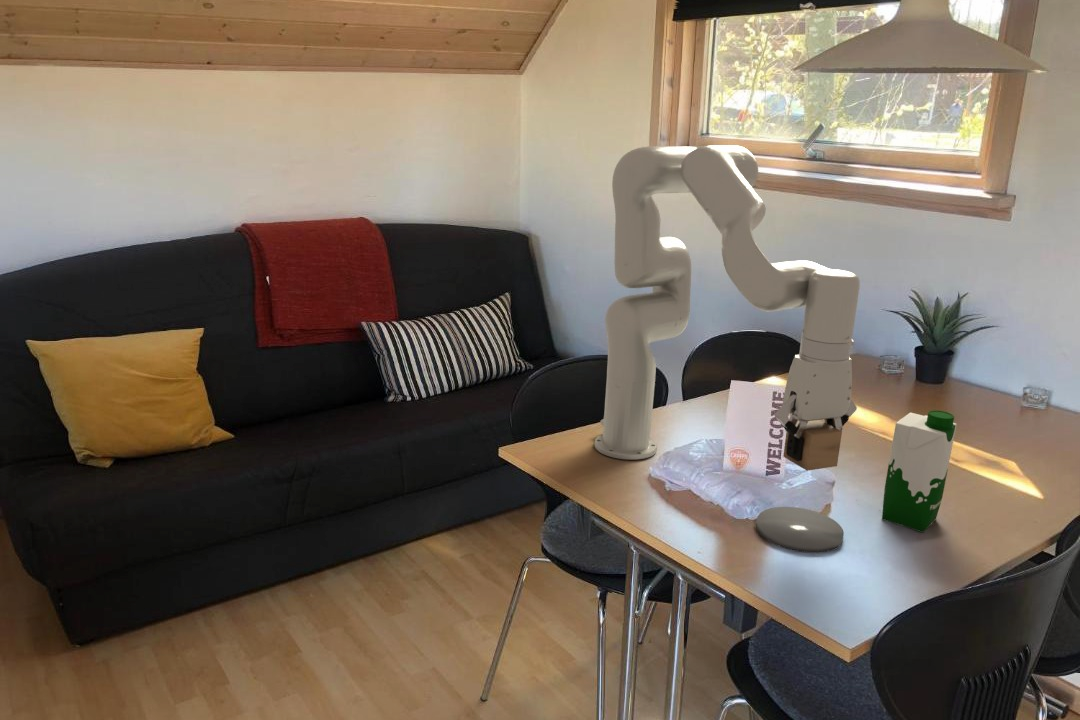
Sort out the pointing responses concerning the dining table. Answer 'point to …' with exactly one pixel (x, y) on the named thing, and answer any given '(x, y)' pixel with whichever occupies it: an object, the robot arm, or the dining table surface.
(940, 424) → the soya milk
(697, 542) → the dining table surface
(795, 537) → the slate plate
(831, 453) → the walnut cube
